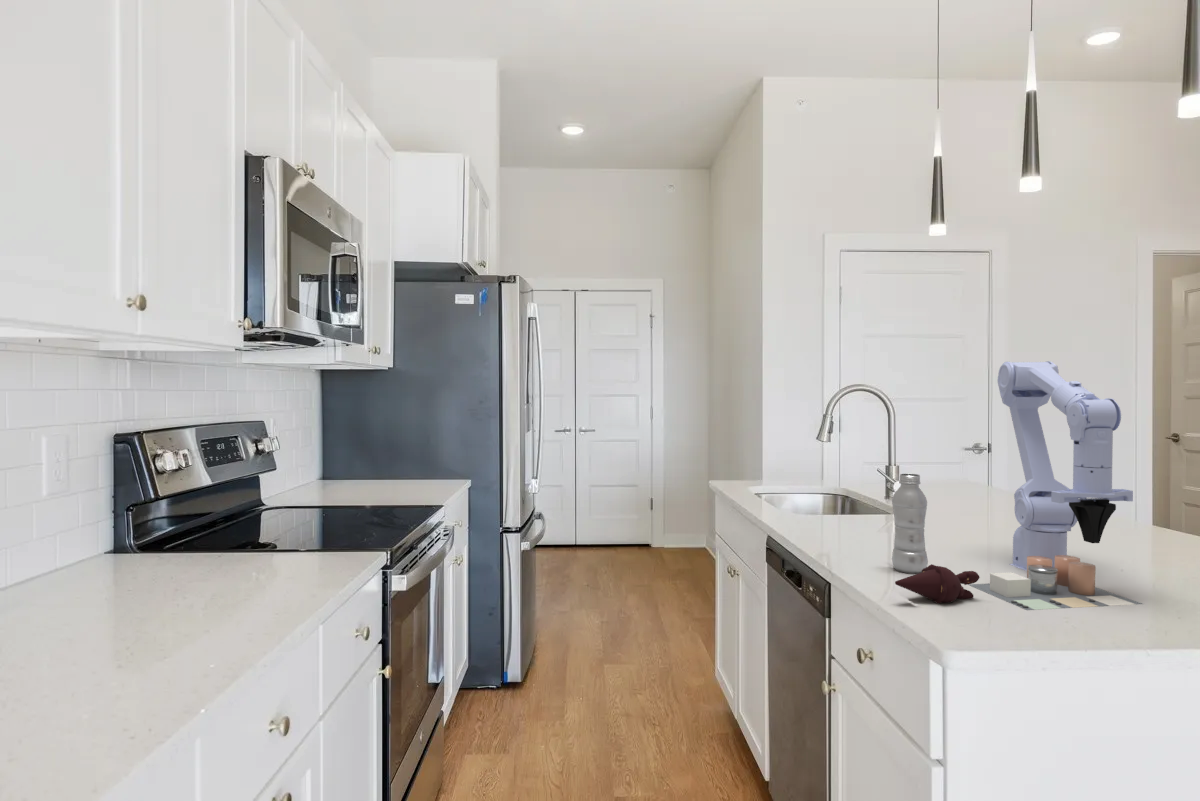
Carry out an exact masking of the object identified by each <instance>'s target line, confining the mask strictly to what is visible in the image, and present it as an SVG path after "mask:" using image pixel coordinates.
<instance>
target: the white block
mask: <svg viewBox="0 0 1200 801" xmlns="http://www.w3.org/2000/svg"><path fill="white" fill-rule="evenodd" d="M989 583H990V590H991V591H994V592H996V593H998V594H1001V595H1003V596H1006V597H1023V596H1031V579H1028V578H1027V576H1026V577H1025V576H1022V575H1021V574H1017V573H1015V572H997V573H995V572H994V573H989Z"/></svg>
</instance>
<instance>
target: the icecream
mask: <svg viewBox="0 0 1200 801" xmlns="http://www.w3.org/2000/svg"><path fill="white" fill-rule="evenodd" d="M980 578H981V577H980V574H978V572H977V571H974V570H966V571H962V572H961V573H957V574H955V572H953V571H952V570H951V569H950V568H948V567H947V566H946V567H945V566H939V565H935V564H930V565H927V567H926V568H924V569H922V573H919V574H913V575H911V576H907V577H904V578H901V579H898V580H896V581H894V583H895V585H896V586H897V587H898V586H899V587H901V588H904V589H906V590H908V591H910V592H913V593H915V594H917V595H919V596H922V597H924V598H926V599H928V600H931V601H932V602H934V603H935V604H938V605H941V603H942V604H949V603H953V602H954V601H956V600H957V599H958V600H959V599H960V600H968V599H969V600H970V599H974V594H973V593H972V591H970V590H968V589H965V588H964V587H963V585H964V586H966V585H967V586H969V585H968V584H976V583H977V582H978V581H979V580H980ZM962 584H963V585H962Z"/></svg>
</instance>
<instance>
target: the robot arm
mask: <svg viewBox="0 0 1200 801" xmlns="http://www.w3.org/2000/svg"><path fill="white" fill-rule="evenodd" d="M997 386H998V390H999V395H1000V398H1001V401H1002V404H1003V405H1005V406H1007V407H1008V408H1009V412H1010V416H1011V421H1012V425H1013V430H1014V434H1015V438H1016V439H1015V440H1016V443H1017V447H1018V451H1019V457H1020V461H1021V466H1022V469H1023V475H1024V479H1025V482H1024V483H1023V484H1022V485H1021V486H1019V488H1017V489H1016V491H1015V492H1014V494H1013V498H1014V516H1015V518H1016V521H1017V522H1018V523H1019V525H1020V526H1018V527H1017V528H1016V530H1014V533H1013V536H1012V563H1009V564H1008V565H1009V566H1013V567H1015V568H1018V569H1020V570H1023V571H1026V572H1027V556H1043V557H1048V558H1051V559H1052V567H1055V556H1056V555H1068V532H1072V528H1074V527H1075V526H1076V524H1077V523H1078V525H1079V528H1080V531H1081V535H1082V539H1083V541H1084V542H1087V543H1090V544H1100V542H1101V539H1102V536H1103V534H1104V533H1103V532H1104V529H1105V527H1106V525H1107V523H1108V521H1109V519H1110V518H1111V516H1112V515H1113V513H1115V511H1116V509H1117V504H1115V503H1111V502H1134V490H1131V489H1126V488H1121V489H1120V488H1113V446H1114V445H1113V440H1114V439H1113V438H1114V436H1113V434H1114V431H1116V430H1117V429H1118V428H1119V426H1120V424H1121V422H1122V411H1121V407H1120V406H1119V404H1118V403H1117V401H1116V400H1115V399H1114V398H1110V397H1108V398H1100V397H1099V396H1096V395H1095V393H1093V392H1092V391H1089V390H1088V389H1087V388H1085V387H1084V386H1083V385H1082V382H1080V381H1078V380H1071V381H1066V380H1065V379H1064V378H1063V377H1062V376H1061V375H1060V374H1059V367H1058V365H1057V364H1055V363H1054V361H1051V360H1048V361H1026V362H1025V361H1021V362H1019V361H1015V362H1014V361H1004V362H1003V363H1002V364H1001V365H1000V367H999V370H998V375H997ZM1049 400H1050V401H1051V404H1052V405H1053V407H1055V408H1056V409H1058V410H1059V411H1060V412H1062V414H1064V415H1065V417H1066V422H1067V425H1068V427H1069V436H1070V440H1072V441H1073V449H1072V450H1073V456H1072V457H1073V464H1072V465H1073V466H1072V473H1073V474H1072V488H1069V487H1068V486H1066V485H1065V484H1063V483H1062V482H1060V481H1058V480H1057V479H1055V475H1054V472H1053V468H1052V467H1053V466H1052V464H1051V460H1050V459H1051V458H1050V455H1049V451H1048V447H1047V444H1046V438H1045V434H1044V430H1043V427H1042V422H1041V418H1040V414H1039V408H1040V407H1043V406H1044V405H1046V404H1048V403H1049Z"/></svg>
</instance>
